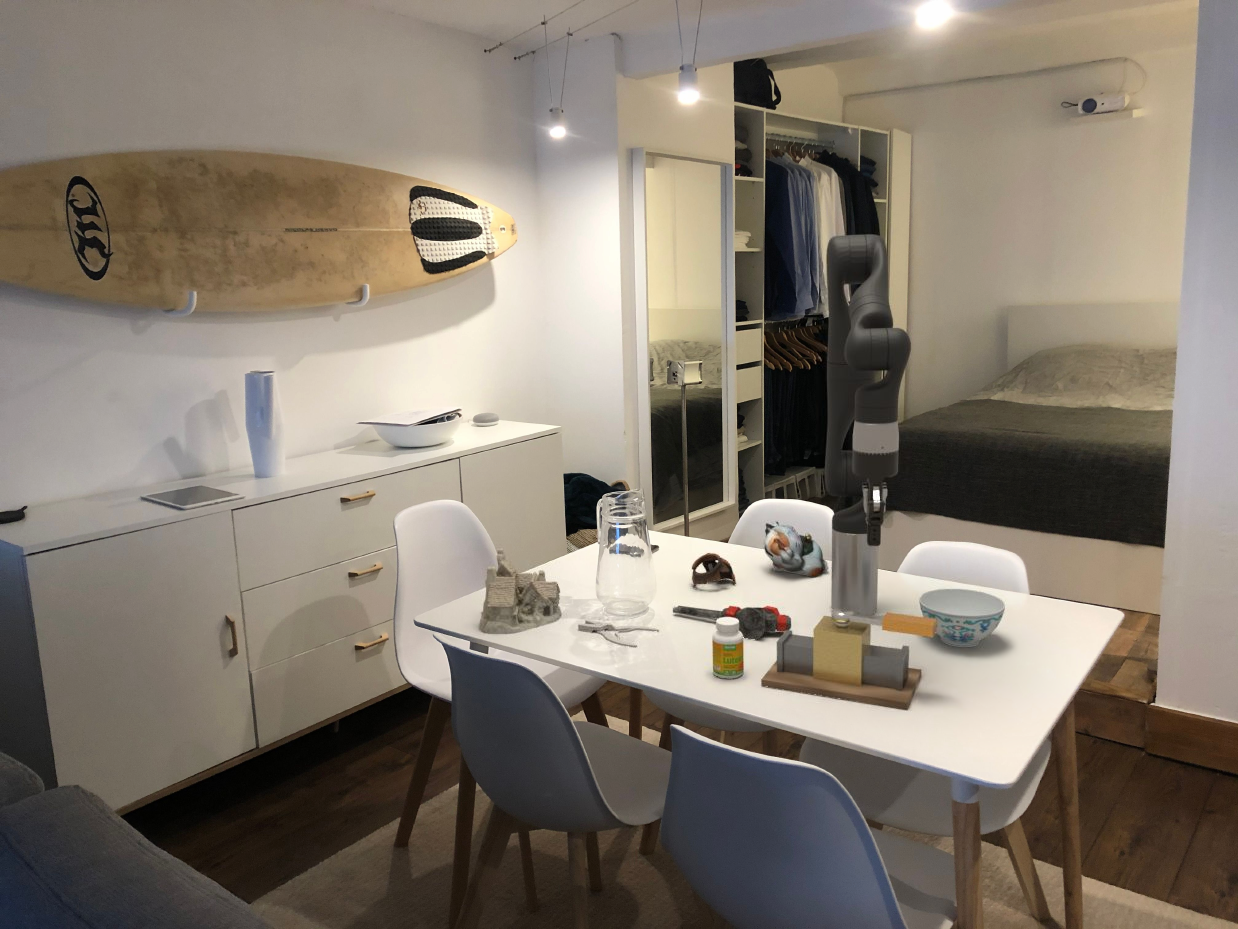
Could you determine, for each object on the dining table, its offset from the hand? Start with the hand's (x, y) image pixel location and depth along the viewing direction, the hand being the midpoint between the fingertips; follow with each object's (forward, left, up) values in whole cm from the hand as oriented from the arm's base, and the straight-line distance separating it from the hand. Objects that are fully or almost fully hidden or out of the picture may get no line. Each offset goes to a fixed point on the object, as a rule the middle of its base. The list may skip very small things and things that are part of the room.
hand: (873, 544), depth 164 cm
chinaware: (-17, +13, -22) cm, 30 cm away
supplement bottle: (+13, -22, -22) cm, 34 cm away
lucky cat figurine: (-47, -27, -22) cm, 59 cm away
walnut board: (+9, -3, -22) cm, 24 cm away
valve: (-11, -29, -23) cm, 39 cm away
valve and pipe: (+9, -3, -22) cm, 24 cm away
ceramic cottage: (+4, -71, -22) cm, 75 cm away
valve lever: (+10, +4, -11) cm, 15 cm away
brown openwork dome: (-32, -42, -22) cm, 58 cm away
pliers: (+3, -50, -23) cm, 54 cm away
